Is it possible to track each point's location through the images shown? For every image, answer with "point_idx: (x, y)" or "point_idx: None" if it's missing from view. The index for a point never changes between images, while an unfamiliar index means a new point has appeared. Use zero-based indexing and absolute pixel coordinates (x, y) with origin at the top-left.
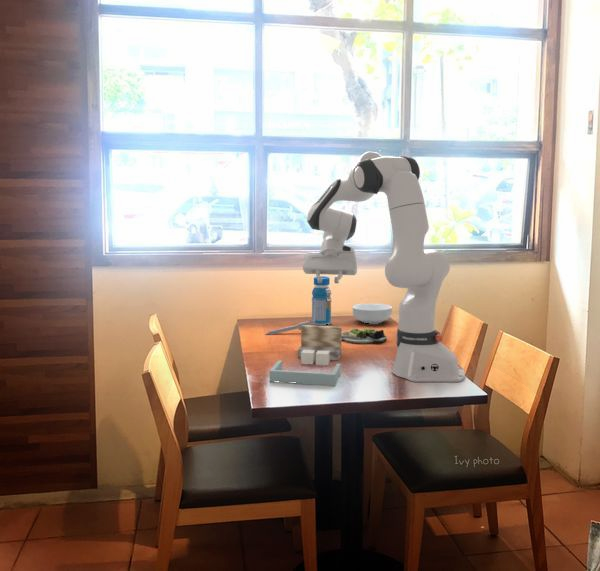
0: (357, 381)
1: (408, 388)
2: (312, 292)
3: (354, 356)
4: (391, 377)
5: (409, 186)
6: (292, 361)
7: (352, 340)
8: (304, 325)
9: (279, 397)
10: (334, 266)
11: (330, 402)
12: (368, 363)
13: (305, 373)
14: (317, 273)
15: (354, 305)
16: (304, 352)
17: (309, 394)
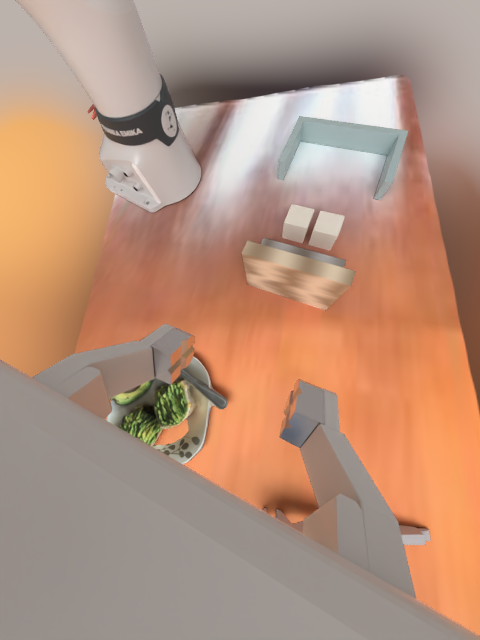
0: (260, 152)
1: (205, 129)
2: None
3: (227, 266)
4: (209, 165)
5: None
6: (351, 248)
7: (199, 361)
8: (345, 279)
9: (378, 102)
10: (33, 477)
11: (313, 91)
12: (217, 226)
13: (344, 123)
14: (359, 485)
15: None
16: (337, 216)
17: (336, 111)
